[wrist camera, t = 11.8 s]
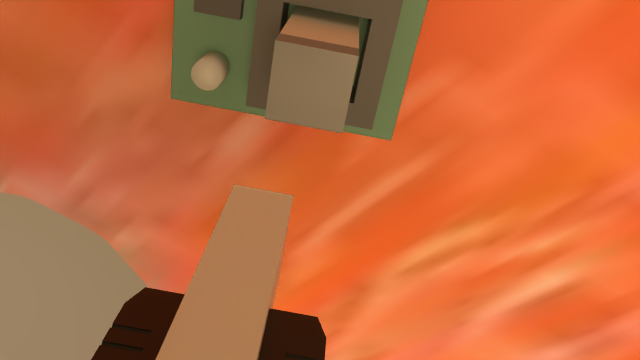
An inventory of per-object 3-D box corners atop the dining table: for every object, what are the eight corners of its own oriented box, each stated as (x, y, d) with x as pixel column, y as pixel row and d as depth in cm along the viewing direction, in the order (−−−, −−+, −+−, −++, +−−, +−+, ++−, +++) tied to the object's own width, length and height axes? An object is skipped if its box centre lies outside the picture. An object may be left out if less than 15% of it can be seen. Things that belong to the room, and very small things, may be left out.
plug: (289, 65, 35) (264, 118, 26) (298, 5, 33) (275, 40, 24) (346, 76, 35) (342, 133, 26) (359, 16, 33) (358, 56, 24)
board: (176, 93, 37) (153, 115, 33) (184, -90, 32) (157, -90, 28) (390, 133, 38) (393, 161, 34) (435, -40, 32) (446, -32, 28)
